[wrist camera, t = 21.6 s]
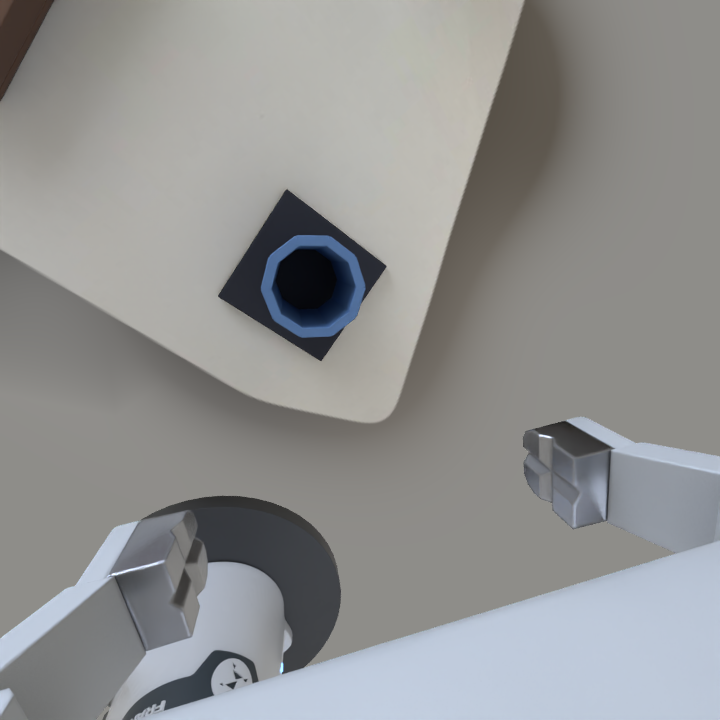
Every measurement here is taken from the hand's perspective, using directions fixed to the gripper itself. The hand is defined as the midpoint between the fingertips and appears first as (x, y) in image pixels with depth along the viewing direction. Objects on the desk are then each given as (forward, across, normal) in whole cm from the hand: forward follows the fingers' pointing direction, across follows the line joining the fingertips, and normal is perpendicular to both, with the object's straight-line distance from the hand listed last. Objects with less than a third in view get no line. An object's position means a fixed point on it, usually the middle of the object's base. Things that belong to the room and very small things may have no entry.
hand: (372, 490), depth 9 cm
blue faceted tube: (+24, 0, +4) cm, 24 cm away
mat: (+25, 0, +4) cm, 25 cm away
